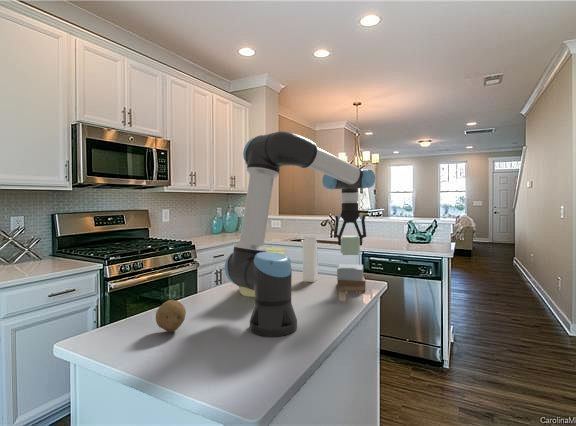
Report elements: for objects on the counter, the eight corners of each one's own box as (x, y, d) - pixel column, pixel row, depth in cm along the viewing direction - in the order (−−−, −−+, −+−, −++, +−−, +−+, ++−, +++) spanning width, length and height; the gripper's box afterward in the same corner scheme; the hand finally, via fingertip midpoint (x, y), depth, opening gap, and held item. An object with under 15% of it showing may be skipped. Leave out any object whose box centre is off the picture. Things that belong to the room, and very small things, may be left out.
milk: (314, 282, 168) (314, 237, 167) (302, 281, 170) (302, 237, 169) (317, 279, 174) (317, 236, 172) (306, 278, 176) (305, 235, 175)
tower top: (362, 280, 151) (362, 269, 150) (337, 279, 153) (337, 268, 153) (363, 275, 161) (363, 264, 161) (339, 274, 164) (339, 264, 164)
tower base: (365, 292, 151) (365, 280, 151) (337, 291, 152) (337, 280, 152) (362, 285, 163) (362, 274, 163) (337, 284, 164) (337, 274, 164)
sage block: (358, 255, 153) (358, 237, 153) (342, 255, 154) (342, 237, 153) (357, 252, 160) (357, 235, 160) (342, 252, 161) (342, 235, 160)
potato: (184, 336, 102) (183, 304, 102) (152, 339, 101) (152, 306, 100) (187, 326, 111) (186, 295, 111) (158, 328, 110) (157, 297, 109)
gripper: (371, 202, 158) (371, 251, 159) (327, 202, 161) (328, 251, 162) (373, 202, 151) (373, 254, 152) (327, 202, 153) (328, 253, 154)
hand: (350, 252), depth 157 cm, fingers closed on sage block, 7 cm apart
